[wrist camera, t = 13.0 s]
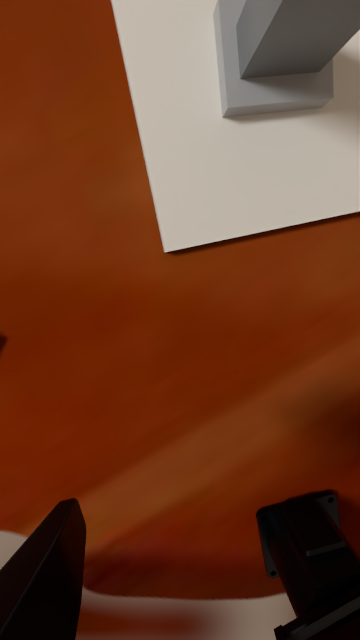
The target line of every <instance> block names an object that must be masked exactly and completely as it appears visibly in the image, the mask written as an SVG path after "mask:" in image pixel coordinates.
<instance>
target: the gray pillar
mask: <svg viewBox="0 0 360 640" xmlns="http://www.w3.org/2000/svg"><path fill="white" fill-rule="evenodd" d="M213 19H214V30H215V41H216V52H217V64H218V75H219V86H220V98H221V109H222V117H232V116H243V115H253V114H263V113H274V112H284V111H294V110H304V109H315V108H322V107H323V106H324V105H326V104H327V103H328V102H329V101H330V100H332V99H333V98H334V93H333V57H334V56H335V55H336V54H337V53H338V52H339V51H340V50H341V49H342V47H343V46H344V45H345V44H346V43H347V42H348V41H349V40H350V39H351V38H352V37H353V36H354V35H355V34H356V33H357V32H358V31H359V30H360V0H217V3H216V6H215V10H214V13H213Z"/></svg>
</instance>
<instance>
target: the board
mask: <svg viewBox="0 0 360 640" xmlns="http://www.w3.org/2000/svg"><path fill="white" fill-rule="evenodd" d="M111 3H112V8H113V13H114V18H115V22H116V27H117V32H118V36H119V41H120V46H121V51H122V55H123V60H124V65H125V69H126V74H127V79H128V84H129V88H130V93H131V98H132V102H133V107H134V112H135V117H136V121H137V126H138V131H139V135H140V140H141V145H142V150H143V154H144V159H145V164H146V168H147V173H148V178H149V183H150V187H151V192H152V197H153V201H154V206H155V211H156V216H157V220H158V225H159V230H160V234H161V239H162V244H163V249H164V252H169V251H174V250H179V249H183V248H188V247H193V246H198V245H202V244H207V243H212V242H216V241H221V240H226V239H231V238H235V237H240V236H245V235H250V234H254V233H259V232H264V231H269V230H273V229H278V228H283V227H287V226H292V225H297V224H302V223H306V222H311V221H316V220H321V219H325V218H330V217H335V216H340V215H344V214H349V213H354V212H358V211H360V30H359V31H358V32H357V33H356V34H355V35H354V36H353V37H352V38H351V39H350V40H349V41H348V42H347V43H346V44H345V45H344V46H343V47H342V49H341V50H340V51H339V52H338V53H337V54H336V55H335V56H334V57H333V93H334V98H333V99H332V100H330V101H329V102H328V103H327V104H326V105H324V106H323V107H322V108H315V109H304V110H294V111H284V112H274V113H263V114H253V115H243V116H232V117H222V109H221V98H220V86H219V75H218V64H217V52H216V41H215V30H214V19H213V13H214V10H215V6H216V3H217V0H111Z"/></svg>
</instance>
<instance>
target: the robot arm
mask: <svg viewBox="0 0 360 640" xmlns="http://www.w3.org/2000/svg"><path fill="white" fill-rule="evenodd" d="M262 516H263V517H262ZM256 519H257V524H258V530H259V535H260V541H261V546H262V552H263V557H264V563H265V568H266V572H267V575H268V577H270V578H276V577H280V579H281V581H282V584H283V586H284V588H285V591H286V593H287V596H288V598H289V600H290V603H291V605H292V608H293V610H294V612H295V615H296V617H297V618H296V619H295V620H293V621H291V622H289V623H288V624H286V625H284V626H282V625H280V626H278V627H277V628H275V629H274V632H275V636H276V640H360V557H359V556H358V554H357V553H356V552H355V550H354V549H353V547H352V546H351V545H350V543H349V542H348V540H347V539H346V538H345V536H344V535H343V533H342V532H341V531H340V524H339V514H338V505H337V498H336V496H335V495H334V493H333V492H332V491H326V492H322V493H318V494H315V495H311V496H307V497H304V498H300V499H296V500H293V501H289V502H285V503H282V504H278V505H274V506H271V507H267V508H263V509H260V510H258V511H257V513H256ZM85 543H86V524H85V520H84V517H83V514H82V511H81V508H80V505H79V502H78V500H77V499H75V498H71V499H67V500H63V501H61V502H59V503H58V504H57V505H56V506H55V507H54V509H53V510H52V511H51V512H50V513H49V514H48V516H47V517H46V518H45V519H44V520H43V521H42V522H41V524H40V525H39V526H38V527H37V528H36V529H35V530H34V532H33V533H32V534H31V535H30V536H29V537H28V539H27V540H26V541H25V542H24V543H23V545H22V546H21V547H20V548H19V549H18V550H17V551H16V552H15V554H14V555H13V556H12V557H11V558H10V559H9V561H8V562H7V563H6V564H5V565H4V566H3V567H2V569H1V570H0V640H75V637H76V631H77V625H78V619H79V613H80V606H81V597H82V585H83V571H84V557H85Z"/></svg>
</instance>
